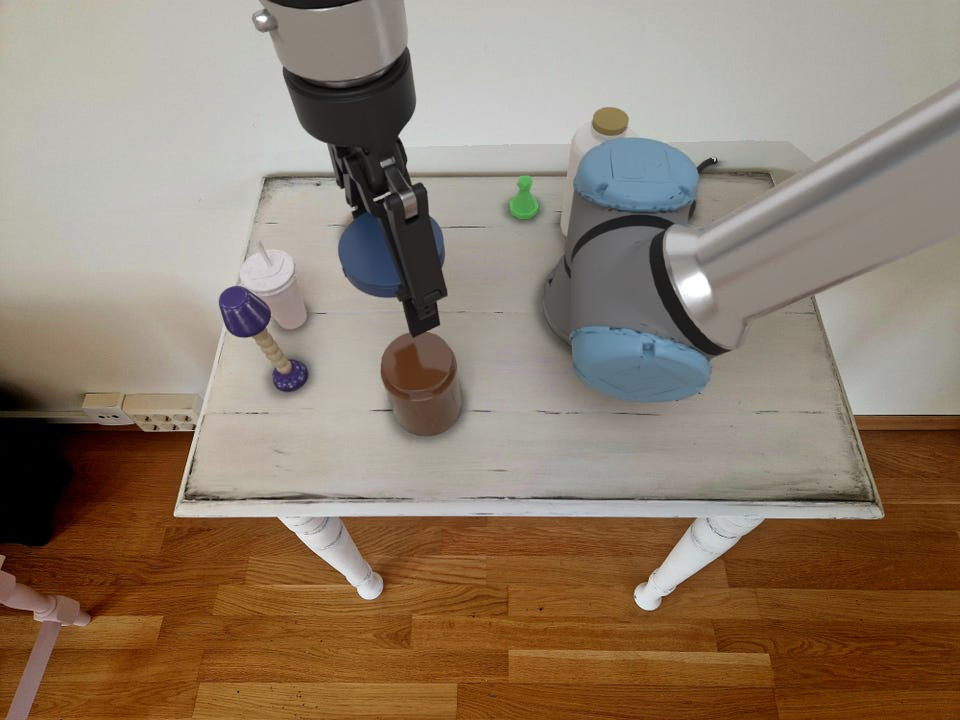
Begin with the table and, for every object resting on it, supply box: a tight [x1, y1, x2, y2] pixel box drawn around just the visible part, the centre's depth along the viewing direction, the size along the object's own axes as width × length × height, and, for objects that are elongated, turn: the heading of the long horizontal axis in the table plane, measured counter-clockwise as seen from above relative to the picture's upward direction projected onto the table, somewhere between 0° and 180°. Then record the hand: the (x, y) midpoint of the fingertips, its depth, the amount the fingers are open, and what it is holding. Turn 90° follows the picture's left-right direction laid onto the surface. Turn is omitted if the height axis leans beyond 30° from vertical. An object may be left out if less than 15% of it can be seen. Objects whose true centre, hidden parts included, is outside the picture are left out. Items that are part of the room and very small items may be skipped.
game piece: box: [509, 175, 539, 220], centre depth 81 cm, size 4×4×6 cm
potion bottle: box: [559, 106, 639, 239], centre depth 73 cm, size 8×8×18 cm
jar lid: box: [337, 212, 446, 299], centre depth 48 cm, size 9×9×2 cm
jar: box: [380, 331, 462, 437], centre depth 63 cm, size 8×8×10 cm
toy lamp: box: [218, 285, 309, 393], centre depth 62 cm, size 5×5×17 cm
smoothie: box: [239, 238, 308, 330], centre depth 68 cm, size 6×6×14 cm
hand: (402, 292), depth 52 cm, fingers closed on jar lid, 9 cm apart
